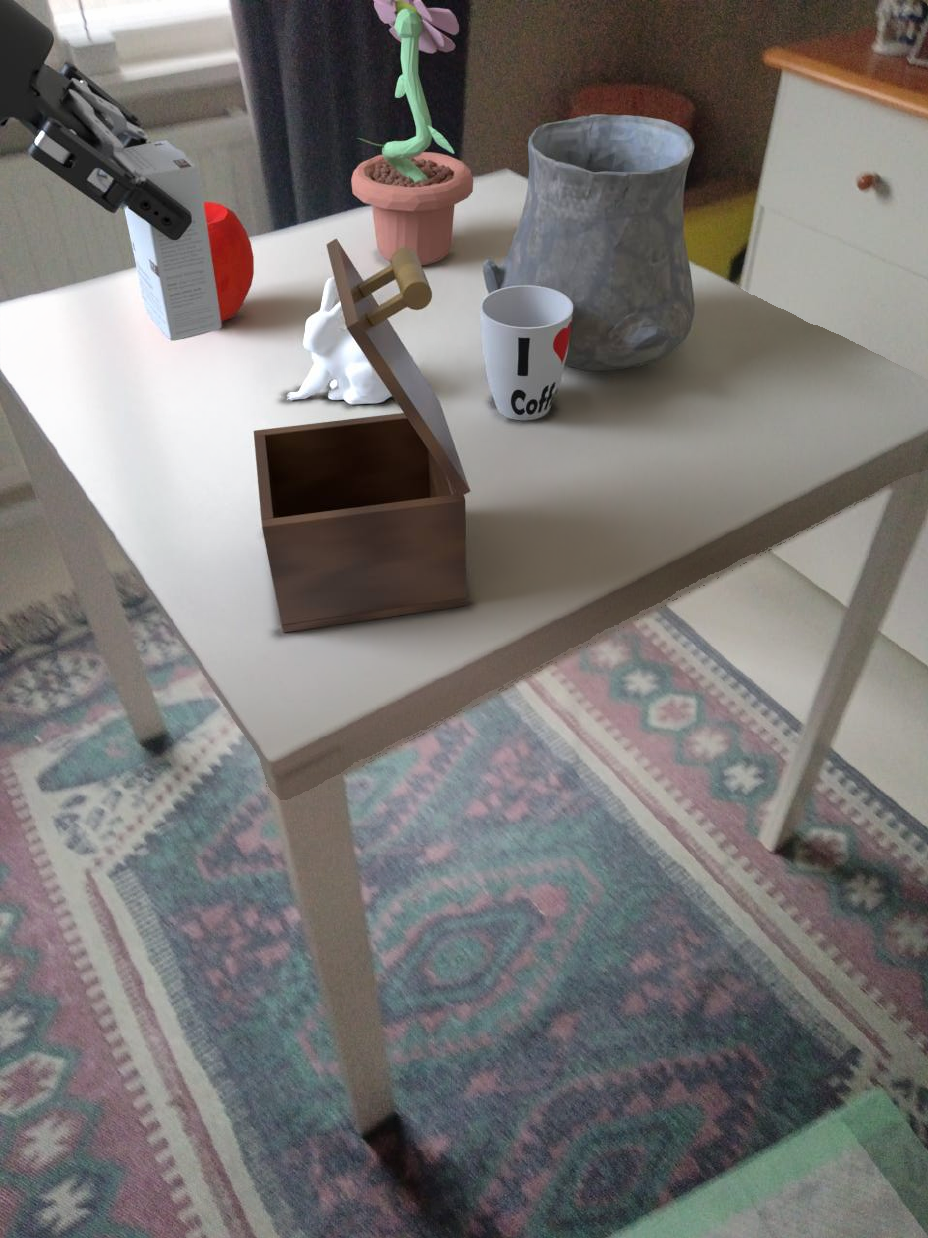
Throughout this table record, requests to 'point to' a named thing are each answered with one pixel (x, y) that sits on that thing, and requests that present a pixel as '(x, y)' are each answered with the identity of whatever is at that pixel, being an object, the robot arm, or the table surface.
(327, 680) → the table surface
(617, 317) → the vessel
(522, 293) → the cup
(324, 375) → the rabbit figurine
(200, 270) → the cosmetic box
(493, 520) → the table surface
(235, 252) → the apple
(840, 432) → the table surface
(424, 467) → the chest
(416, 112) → the decorative flower
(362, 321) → the lid
